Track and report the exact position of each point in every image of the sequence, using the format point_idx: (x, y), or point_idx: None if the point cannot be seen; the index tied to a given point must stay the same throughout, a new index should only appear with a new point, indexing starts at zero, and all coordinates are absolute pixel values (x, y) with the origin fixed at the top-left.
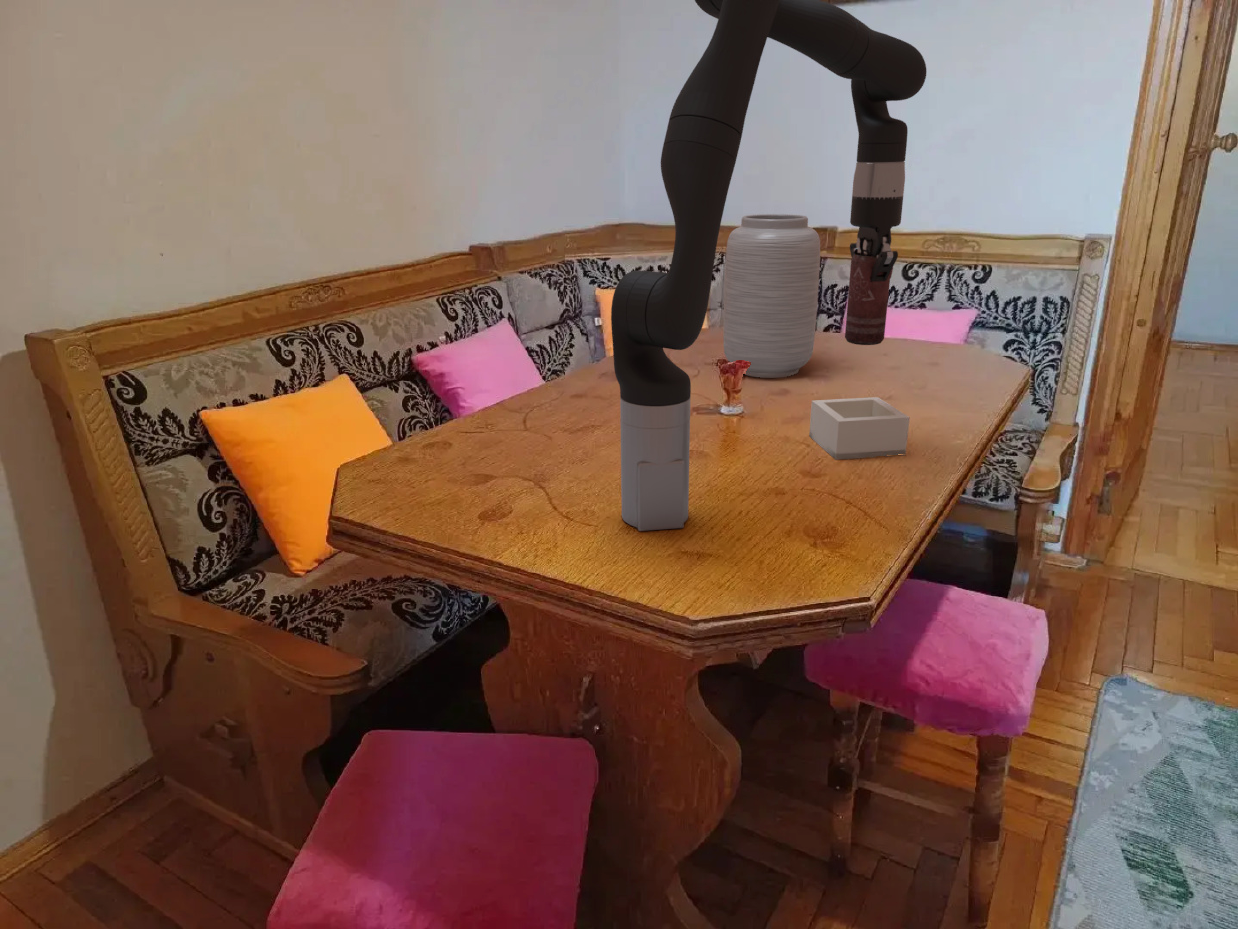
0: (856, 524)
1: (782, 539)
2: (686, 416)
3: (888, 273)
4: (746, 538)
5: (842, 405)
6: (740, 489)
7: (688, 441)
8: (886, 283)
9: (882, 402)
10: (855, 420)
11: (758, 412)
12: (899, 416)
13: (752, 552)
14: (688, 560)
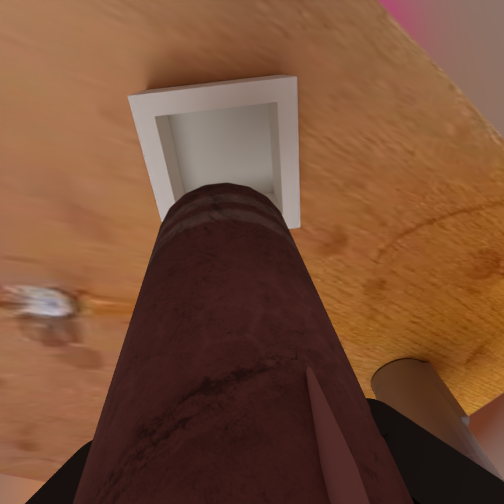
0: (486, 228)
1: (482, 297)
2: (490, 465)
3: (472, 467)
4: (466, 322)
5: (173, 186)
6: (359, 317)
7: (463, 431)
8: (347, 371)
9: (177, 100)
10: (299, 198)
11: (50, 267)
12: (287, 98)
13: (492, 321)
14: (481, 359)
